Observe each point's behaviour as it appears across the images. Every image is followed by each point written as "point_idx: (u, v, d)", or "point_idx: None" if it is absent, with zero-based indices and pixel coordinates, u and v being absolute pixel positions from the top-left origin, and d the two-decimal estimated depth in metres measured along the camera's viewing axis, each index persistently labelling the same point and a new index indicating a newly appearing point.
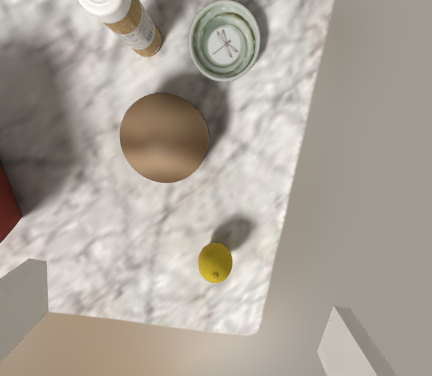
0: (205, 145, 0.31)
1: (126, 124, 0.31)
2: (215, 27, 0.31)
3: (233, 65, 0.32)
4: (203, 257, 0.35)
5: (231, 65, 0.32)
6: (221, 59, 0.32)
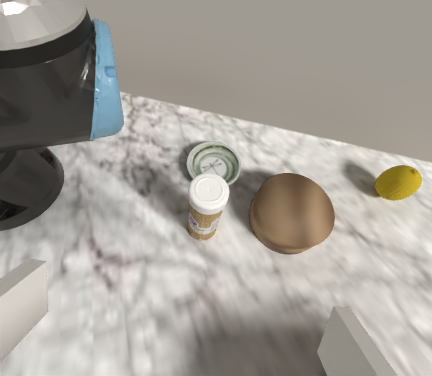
0: (296, 175, 0.37)
1: (285, 237, 0.32)
2: (200, 172, 0.41)
3: (227, 162, 0.42)
4: (397, 187, 0.38)
5: (227, 163, 0.42)
6: (222, 170, 0.41)
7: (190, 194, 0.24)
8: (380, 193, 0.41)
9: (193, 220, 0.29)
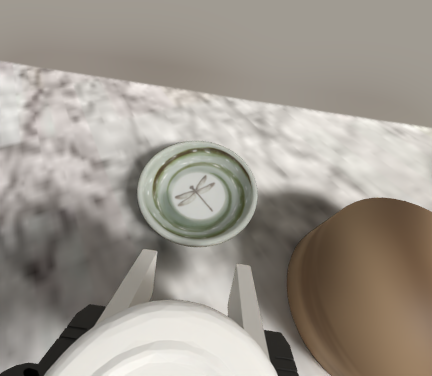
0: (392, 201, 0.16)
1: None
2: (172, 208, 0.19)
3: (225, 179, 0.21)
4: None
5: (226, 182, 0.20)
6: (218, 197, 0.20)
7: None
8: None
9: None
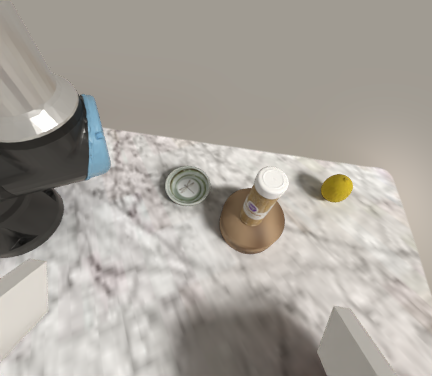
0: None
1: (245, 241, 0.41)
2: (178, 194, 0.49)
3: (198, 180, 0.51)
4: (334, 192, 0.47)
5: (198, 181, 0.51)
6: (196, 188, 0.50)
7: (260, 184, 0.31)
8: (324, 197, 0.50)
9: (254, 207, 0.36)
